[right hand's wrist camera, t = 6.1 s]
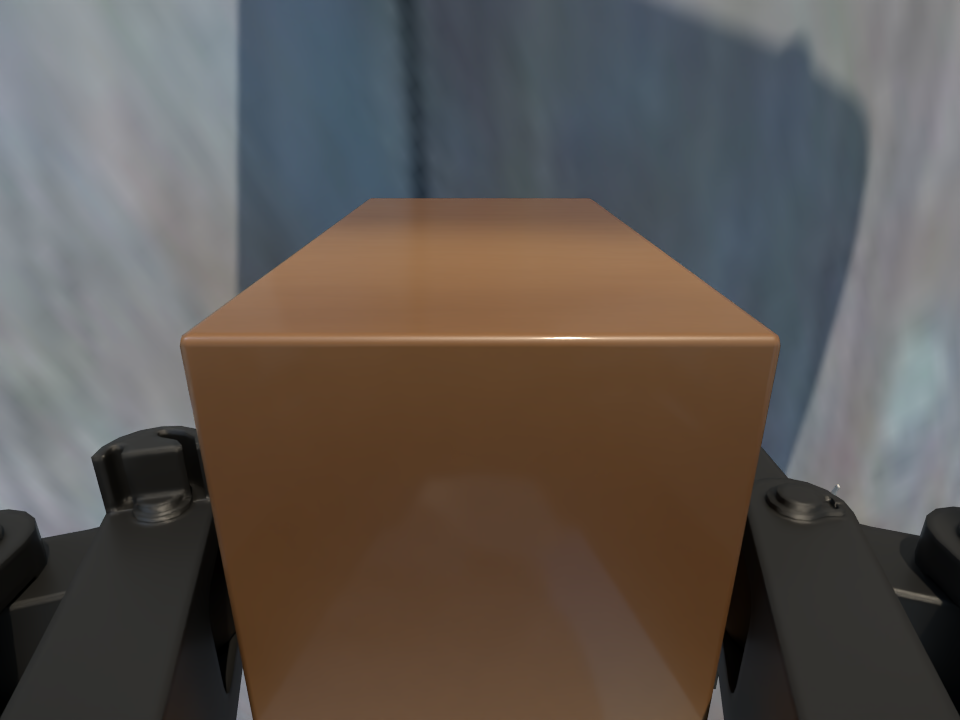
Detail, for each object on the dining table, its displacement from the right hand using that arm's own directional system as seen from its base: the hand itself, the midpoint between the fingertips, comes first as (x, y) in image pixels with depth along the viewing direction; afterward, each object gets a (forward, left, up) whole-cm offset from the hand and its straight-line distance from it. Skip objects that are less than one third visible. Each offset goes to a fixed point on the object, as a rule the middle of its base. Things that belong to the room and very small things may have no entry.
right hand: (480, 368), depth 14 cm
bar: (+5, +8, -1) cm, 9 cm away
